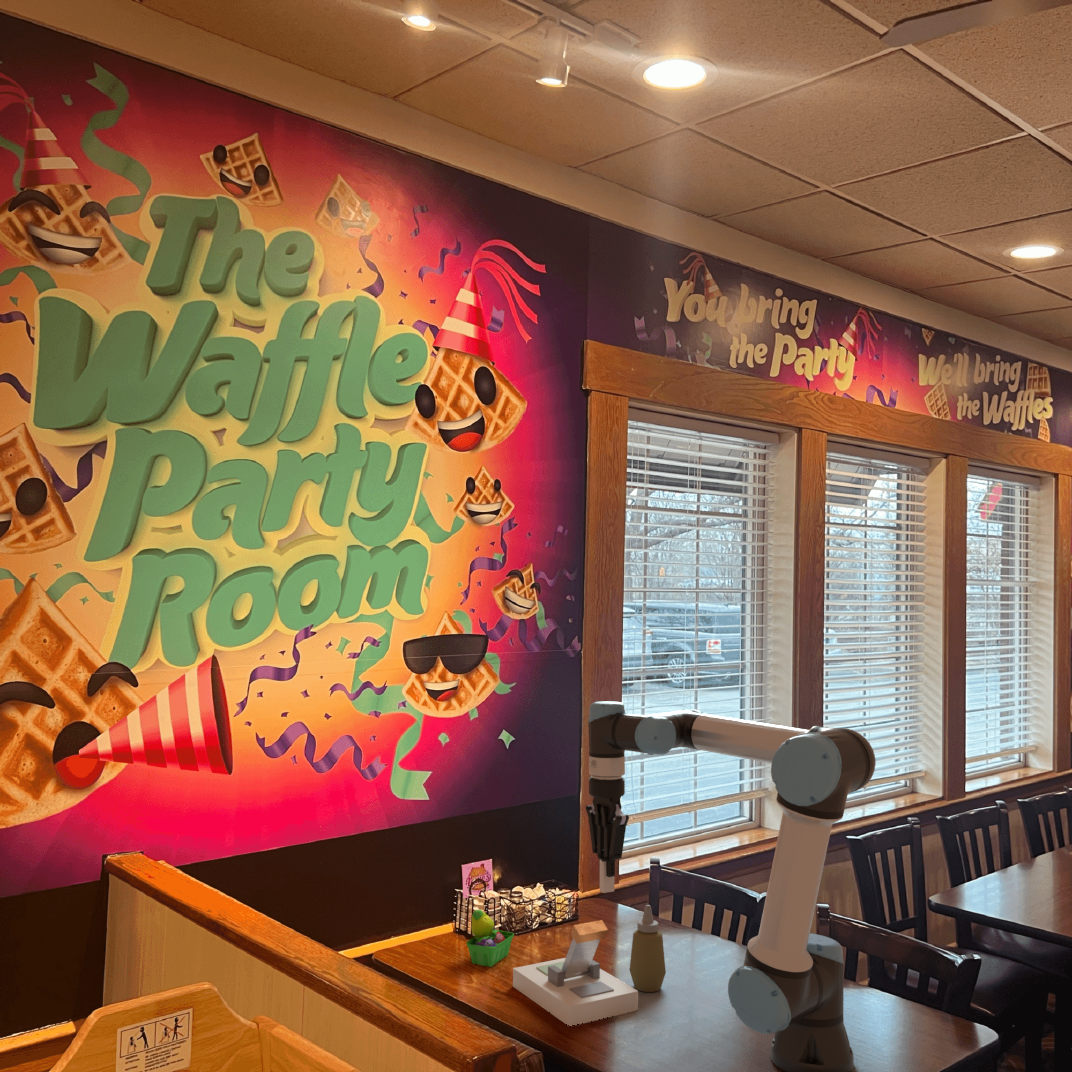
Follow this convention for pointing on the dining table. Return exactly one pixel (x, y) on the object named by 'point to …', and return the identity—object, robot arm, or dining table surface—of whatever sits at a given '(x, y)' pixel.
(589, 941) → the lever
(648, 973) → the squeeze bottle
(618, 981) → the switch panel
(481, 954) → the fruit basket
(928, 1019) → the dining table surface
